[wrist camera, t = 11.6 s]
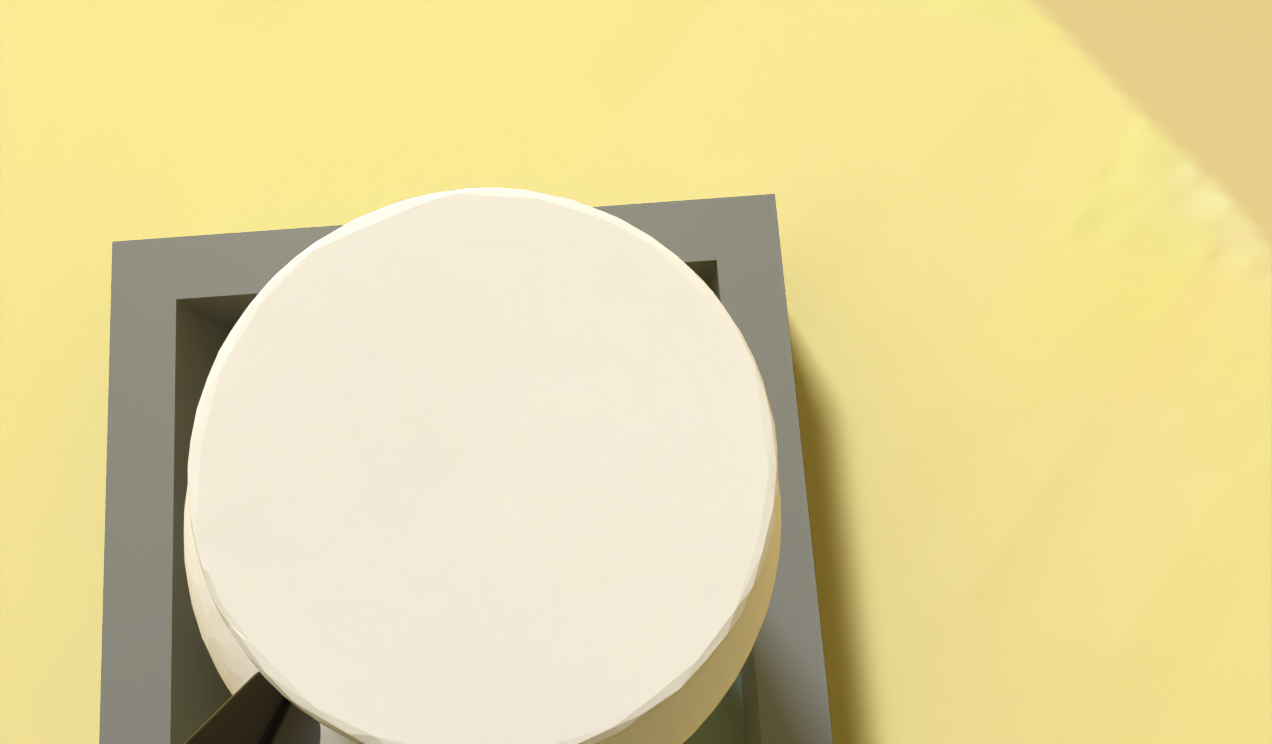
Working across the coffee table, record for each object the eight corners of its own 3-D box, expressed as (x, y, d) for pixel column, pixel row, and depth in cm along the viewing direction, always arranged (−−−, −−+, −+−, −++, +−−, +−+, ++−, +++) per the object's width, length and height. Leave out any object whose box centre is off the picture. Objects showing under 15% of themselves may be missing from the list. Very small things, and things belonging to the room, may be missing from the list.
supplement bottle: (312, 410, 21) (51, 75, 8) (636, 385, 22) (831, 56, 9) (326, 761, 19) (28, 991, 7) (674, 715, 20) (968, 842, 8)
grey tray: (807, 785, 21) (842, 828, 17) (190, 833, 20) (95, 888, 17) (753, 253, 23) (774, 194, 19) (195, 293, 23) (111, 241, 19)
